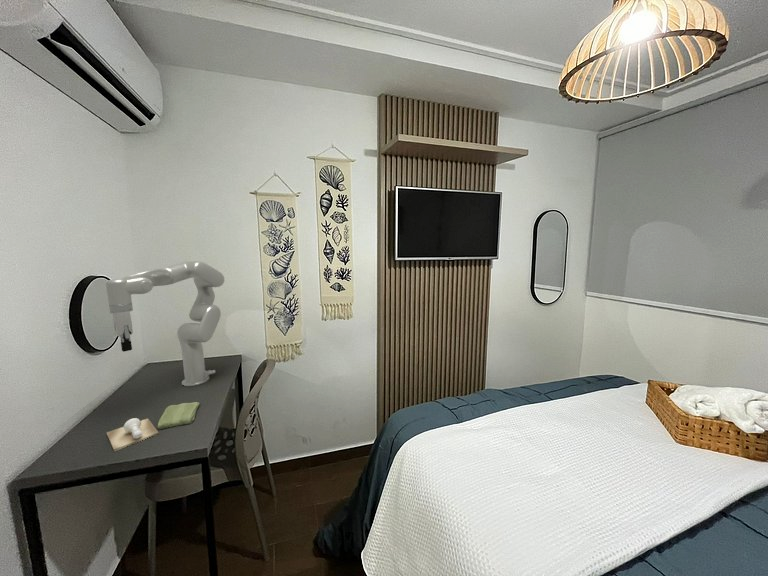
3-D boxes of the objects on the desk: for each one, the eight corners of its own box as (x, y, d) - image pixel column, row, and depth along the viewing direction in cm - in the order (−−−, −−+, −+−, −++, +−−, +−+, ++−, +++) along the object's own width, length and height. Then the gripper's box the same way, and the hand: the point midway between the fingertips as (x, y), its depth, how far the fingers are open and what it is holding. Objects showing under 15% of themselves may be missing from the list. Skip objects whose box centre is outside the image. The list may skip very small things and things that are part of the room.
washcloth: (200, 404, 143) (200, 398, 143) (193, 424, 127) (192, 417, 126) (166, 410, 138) (165, 404, 138) (154, 432, 122) (153, 424, 122)
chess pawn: (128, 433, 121) (135, 445, 115) (120, 425, 118) (127, 437, 113) (142, 423, 124) (150, 435, 118) (135, 415, 121) (142, 426, 116)
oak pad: (148, 420, 130) (147, 418, 130) (158, 434, 120) (158, 432, 120) (106, 434, 121) (106, 432, 121) (114, 451, 110) (114, 449, 110)
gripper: (106, 308, 135) (112, 349, 138) (112, 312, 126) (119, 356, 128) (128, 305, 141) (134, 345, 143) (136, 308, 131) (142, 351, 134)
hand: (127, 350), depth 136 cm, fingers closed
